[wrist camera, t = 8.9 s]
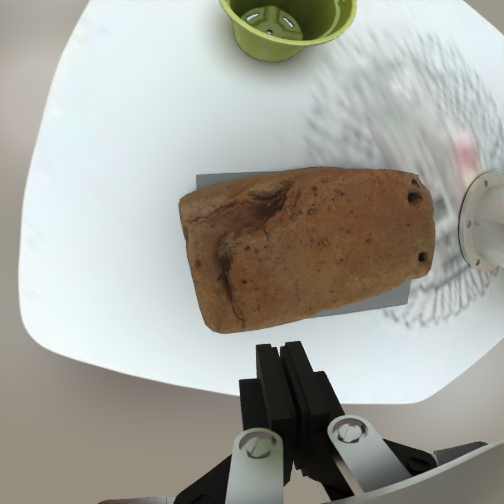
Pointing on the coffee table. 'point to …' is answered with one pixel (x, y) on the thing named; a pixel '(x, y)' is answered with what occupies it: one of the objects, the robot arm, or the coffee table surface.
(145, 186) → the coffee table surface
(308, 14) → the plant pot
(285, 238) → the block
